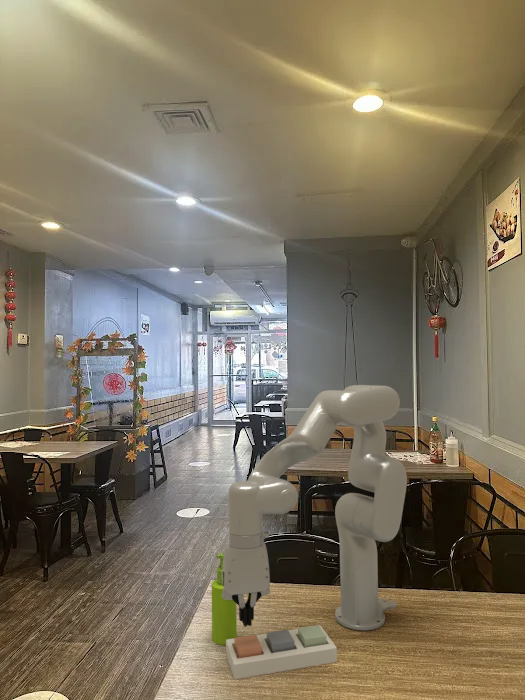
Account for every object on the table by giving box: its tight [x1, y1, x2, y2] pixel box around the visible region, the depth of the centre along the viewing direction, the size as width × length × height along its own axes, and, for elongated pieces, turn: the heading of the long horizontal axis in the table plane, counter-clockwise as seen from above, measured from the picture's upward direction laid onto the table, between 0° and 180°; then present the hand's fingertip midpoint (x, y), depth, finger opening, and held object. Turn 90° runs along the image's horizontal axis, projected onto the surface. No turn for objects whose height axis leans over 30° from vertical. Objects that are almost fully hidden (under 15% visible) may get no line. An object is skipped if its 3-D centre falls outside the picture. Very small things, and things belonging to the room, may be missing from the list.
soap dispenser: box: [211, 552, 238, 646], centre depth 120 cm, size 6×7×20 cm
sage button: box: [297, 624, 326, 648], centre depth 113 cm, size 5×5×2 cm
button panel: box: [225, 625, 338, 680], centre depth 111 cm, size 23×10×3 cm, turn 104°
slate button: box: [266, 629, 294, 653], centre depth 111 cm, size 5×5×2 cm
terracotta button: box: [234, 634, 262, 658], centre depth 109 cm, size 5×5×2 cm
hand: (246, 623), depth 110 cm, fingers closed
